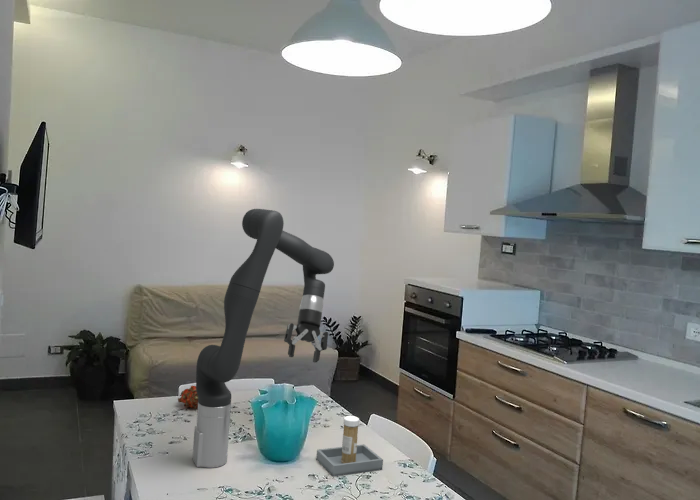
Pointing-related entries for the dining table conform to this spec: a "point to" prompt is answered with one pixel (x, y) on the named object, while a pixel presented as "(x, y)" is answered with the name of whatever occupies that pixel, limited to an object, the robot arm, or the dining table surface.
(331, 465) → the box
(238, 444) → the dining table surface
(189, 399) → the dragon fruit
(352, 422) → the sprinkles bottle
